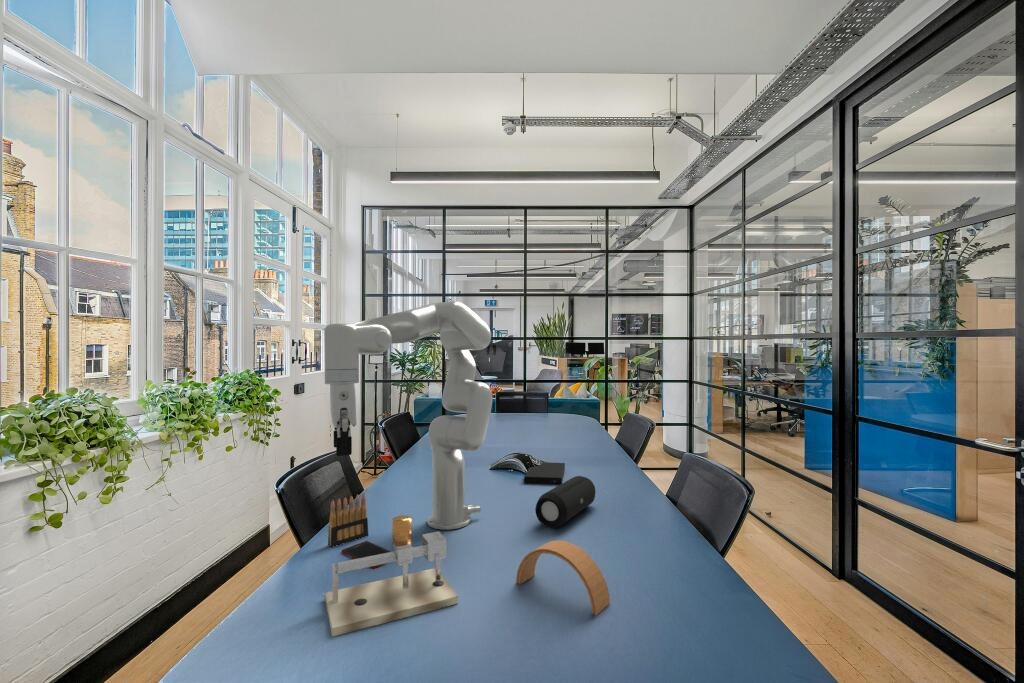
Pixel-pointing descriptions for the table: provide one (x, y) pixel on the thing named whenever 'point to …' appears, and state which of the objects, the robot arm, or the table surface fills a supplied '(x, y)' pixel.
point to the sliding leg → (403, 544)
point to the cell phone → (364, 551)
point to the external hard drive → (545, 474)
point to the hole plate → (387, 601)
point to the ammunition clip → (348, 521)
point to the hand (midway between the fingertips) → (342, 450)
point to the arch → (578, 562)
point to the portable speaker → (565, 501)
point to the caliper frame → (395, 559)
